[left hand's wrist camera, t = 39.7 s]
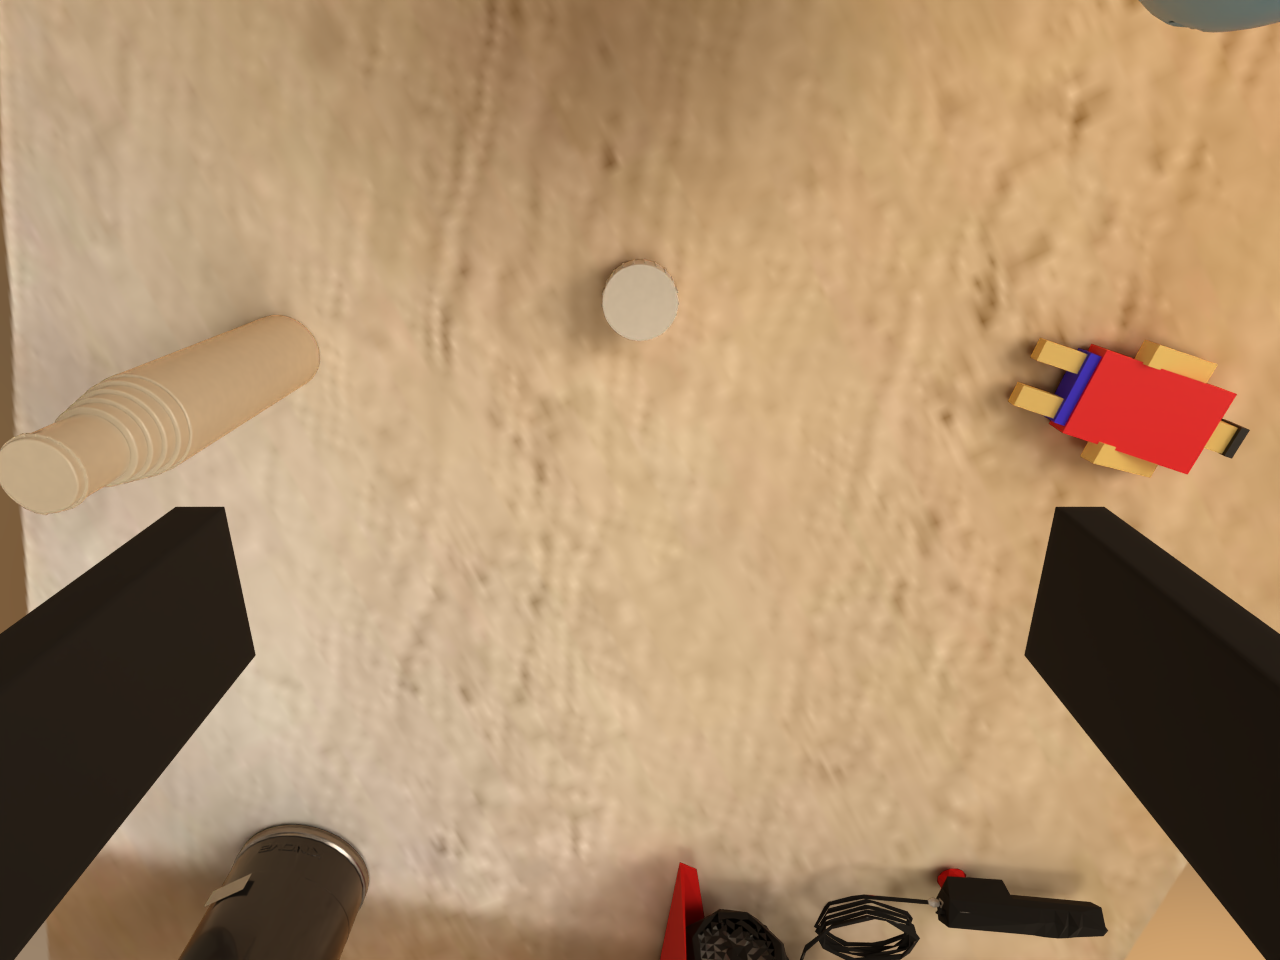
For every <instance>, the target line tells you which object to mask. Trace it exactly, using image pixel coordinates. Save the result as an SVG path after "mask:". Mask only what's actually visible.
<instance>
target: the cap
mask: <svg viewBox="0 0 1280 960" xmlns="http://www.w3.org/2000/svg"><path fill="white" fill-rule="evenodd" d="M677 293H678V290H677V287H675V285H674V280H673V277H671V276H670V275H669V273H668V272H667V271H666V268H663V267H661V266H660V265H658V264H657V263H656V262H652V261H649V260H646V259H644V260H642V259H640V260H634V259H633V260H632V261H629V262H626V263H624V262H623V263H622V265H621V266H619V267H618V268H617V269H614V270H613V273H612V274H611V276H610V277H609V279H608V278H607V281H606V286H605V289H604V290H603V293H602V295H603V300H602V307H603V312H604V315H605V318H606V320H607V322H608V323H609V325H610V326H611V328H612V329H613V330H614V331H615V332H616V333H618V334H619V335H621V336H623V337H624V338H627V339H630V340H634V341H646V340H651V339H654V338H656V337H658V336H660V335H661V334H663V333H664V332H665V331H666V330H667V329H668V328H669V327H670V326H671V324H672V323H673V321H674V319H675V317H676V315H677V310H678V305H679V301H678V295H677Z"/></svg>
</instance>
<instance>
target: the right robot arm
mask: <svg viewBox="0 0 1280 960" xmlns="http://www.w3.org/2000/svg"><path fill="white" fill-rule="evenodd" d="M368 886H369V876H368V871H367V868H366V865H365V863H364V861H363V860H362V858H361V856H360V855H359V854H358V853H357V851H356V850H355V849H354V848H353V847H352V846H350V845H349V844H348V843H347V842H345V841H344V840H343V839H341V838H339V837H338V836H336V835H334V834H332V833H330V832H327V831H325V830H322V829H319V828H315V827H310V826H304V825H281V826H276V827H272V828H269V829H266V830H263V831H261V832H259V833H258V834H256V835H254V836H253V837H252V838H250V839H249V840H248V841H247V842H246V844H245V845H244V846H243V848H242V849H241V851H240V853H239V855H238V856H237V858H236V860H235V862H234V864H233V868H232V869H231V871H230V873H229V875H228V876H227V878H226V880H225V881H224V883H223V885H222V886H221V888H219V889H217V890H214V891H213V892H212V894H211V896H210V897H209V899H208V901H207V902H206V904H205V906H207V905H209V904H211V905H210V906H209V908H208V910H207V912H206V913H205V915H204V917H203V918H202V920H201V922H200V923H199V925H198V927H197V929H196V930H195V932H194V934H193V935H192V937H191V939H190V941H189V942H188V944H187V946H186V947H185V949H184V951H183V953H182V954H181V956H180V958H179V959H178V960H339V959H340V957H341V954H342V952H343V949H344V946H345V944H346V942H347V939H348V937H349V934H350V931H351V929H352V926H353V923H354V921H355V918H356V915H357V913H358V911H359V909H360V908H361V906H362V904H363V901H364V898H365V896H366V893H367V890H368ZM205 906H204V907H205Z"/></svg>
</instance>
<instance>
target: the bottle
mask: <svg viewBox="0 0 1280 960" xmlns="http://www.w3.org/2000/svg"><path fill="white" fill-rule="evenodd" d="M319 359H320V356H319V349H318V346H317V343H316V341H315V339H314V337H313V336H312V334H311V333H310V332H309V330H308V329H307V328H306V327H305V326H303V325H302V324H301V323H299V322H298V321H296V320H294V319H292V318H289V317H286V316H281V315H270V316H265V317H263V318H260V319H258V320H255V321H253V322H250V323H247V324H245V325H242V326H240V327H237V328H235V329H232V330H230V331H227V332H224V333H222V334H219V335H217V336H214V337H212V338H209V339H206V340H204V341H201V342H199V343H196V344H194V345H191V346H189V347H186V348H183V349H181V350H178V351H176V352H173V353H171V354H168V355H165V356H163V357H160V358H158V359H155V360H153V361H150V362H147V363H145V364H142V365H140V366H137V367H135V368H132V369H130V370H127V371H124V372H122V373H119V374H117V375H114V376H112V377H109V378H107V379H105V380H103V381H101V382H100V383H99V384H97V385H95V386H93V387H92V388H90V389H89V390H88V391H87V392H86V393H85V394H84V395H83V396H81V397H80V398H79V399H78V400H77V401H76V402H75V403H74V404H72V405H71V406H70V407H69V408H68V409H67V410H66V411H65V412H63V413H62V414H61V415H60V416H59V417H58V418H57V419H56V421H55V423H53V424H51V425H49V426H46V427H44V428H42V429H39V430H37V431H35V432H32V433H26V434H24V433H23V434H21V435H19V436H16V437H13V438H12V439H10V440H9V441H7V442H6V443H5V444H4V445H3V447H2V448H1V450H0V485H1V486H2V488H3V489H4V491H5V492H6V493H7V495H8V496H9V497H10V498H11V499H13V500H14V501H15V502H16V503H18V504H19V505H21V506H22V507H23V508H25V509H28V510H30V511H33V512H34V513H38V514H43V515H47V514H48V513H57V512H61V511H65V510H69V509H73V508H75V507H76V506H78V505H79V504H81V503H82V502H83V501H84V499H85V498H86V497H88V496H89V495H91V494H93V493H95V492H96V491H98V490H100V489H101V488H103V487H112V486H117V485H120V484H123V483H129V482H132V481H135V480H141V479H144V478H148V477H153V476H156V475H159V474H161V473H163V472H165V471H168V470H171V469H173V468H175V467H176V466H178V465H180V464H181V463H183V462H184V461H186V460H187V459H189V458H190V457H192V456H194V455H195V454H197V453H198V452H200V451H201V450H203V449H205V448H206V447H208V446H209V445H211V444H212V443H214V442H216V441H217V440H219V439H220V438H222V437H223V436H225V435H226V434H228V433H230V432H231V431H233V430H234V429H236V428H237V427H239V426H241V425H242V424H244V423H245V422H247V421H248V420H250V419H252V418H253V417H255V416H256V415H258V414H259V413H261V412H262V411H264V410H266V409H267V408H269V407H270V406H272V405H273V404H275V403H277V402H278V401H280V400H281V399H283V398H284V397H286V396H288V395H289V394H291V393H292V392H294V391H295V390H297V389H299V388H300V387H302V386H303V385H305V384H306V383H308V382H309V381H310V380H311V379H312V378H313V377H314V375H315V374H316V372H317V369H318V366H319Z"/></svg>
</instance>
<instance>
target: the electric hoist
mask: <svg viewBox="0 0 1280 960" xmlns="http://www.w3.org/2000/svg"><path fill="white" fill-rule="evenodd" d="M937 882H938V884H939V885H940V887H941V890H940V892H939V894H938V896H937V898H936V899H935V898H930V899H929V900H920V899H908V898H897V897H885V896H874V895H857V896H850V897H846V898H842V899H838V900H834V901H831V902H828V903H827V904H826V905H825V906H824V908H823V910H822V912H821V914H820V916H819V918H818V920H817V922H816V924H815V926H814V927H815V928H817V929H816V930H815V932H816V933H817V934H818V936H817V937H815V938H814V939H813V940H812V941H810V942H809V943H808V944H806V945H805V948H804V950H803V953H802V956H801V958H800V960H803V959H804V956H805V953H806V951H807V950H808V949H810V948H811V947H812V946H813V945H814V944H815V943H816V942H818V941H819V942H820V944H821V946H822V948H823V949H825V950H827V951H829V952H831V953H833V954H835V955H837V956H839V957H841V958H843V959H845V960H900V959H902V958H903V957H905V956H906V955H908V954H909V953H910V952H911V951H912V949H913V948H914V946H915V945H916V943H917V942H918V940H919V939H920V938H919V936H918V935H917V934H916V931H915V927H914V925H913V924H912V923H911V922H912V919H913V918H912V917H911V915H910V914H909V913H908V911H905V910H901V909H898V908H895V907H892V906H889V905H886V904H883V903H880V902H876V901H872V900H868V899H873V900H884V901H896V902H907V903H919V904H929V905H930V906H932V907H937V911H936V914H938V920H939V921H941V922H942V923H943V924H945V925H946V926H947V927H949V928H960V929H971V930H982V931H993V932H1004V933H1015V934H1026V935H1035V936H1041V937H1049V938H1073V937H1093V936H1104V935H1105V934H1106V933H1107V931H1108V930H1107V928H1106V927H1105V923H1104V918H1103V913H1102V908H1101V907H1099V906H1097V905H1095V904H1093V903H1091V902H1084V901H1073V900H1062V899H1051V898H1040V897H1029V896H1018V895H1010V894H1009V892H1008V890H1007V888H1006V886H1005V885H1004V883H1003V881H1002V880H996V879H981V878H967V877H966V874H965V873H964V872H963V871H962V870H959V869H948V870H945V871H943V872H942V873H941V874H940V875H939V876H938V880H937ZM859 899H864V900H860V901H856V902H852V903H848V904H844V905H840V906H836V907H833V908H829V906H830V905H834V904H839V903H844V902H849V901H854V900H859ZM867 903H874V904H876V905H879V906H882V907H885V908H887V909H890V910H893V911H895V912H892V911H889V910H886V909H883V908H879V907H875V906H870V905H863V904H867ZM859 905H863V906H859ZM855 906H859V907H856V908H853V909H849V910H846V911H842V912H839V913H836V914H832V915H829V916H826V915H827V914H829V913H832V912H836V911H840V910H844V909H848V908H851V907H855ZM828 908H829V909H828ZM827 909H828V910H827ZM865 909H871V910H865ZM859 910H863V911H860V912H856V913H853V914H849V915H845V914H848V913H852V912H855V911H859ZM873 910H875V911H873ZM826 911H827V912H826ZM896 912H898V913H896ZM825 913H826V914H825ZM899 913H901V914H899ZM824 914H825V915H824ZM864 914H869V915H865V916H861V915H864ZM888 914H889V915H888ZM902 914H903V915H902ZM841 915H845V916H842V917H838V916H841ZM870 915H873V916H870ZM891 915H893V916H891ZM905 915H906V916H905ZM823 916H824V917H823ZM825 916H826V917H825ZM858 916H861V917H858ZM875 916H877V917H875ZM894 916H896V917H894ZM822 917H823V919H822ZM834 917H838V918H834ZM854 917H857V918H854ZM880 917H881V918H880ZM897 917H900V918H903V919H907V921H905V920H902V919H899V918H897ZM831 918H834V919H831ZM851 918H853V919H851ZM883 918H885V919H883ZM821 919H822V920H821ZM827 919H831V920H828V921H826V920H827ZM848 919H849V920H848ZM873 919H877V920H883V921H887V922H888V923H890V924H892V925H893V926H895V927H897V928H898V929H900V930H902V931H903V932H904V934H901V935H898V936H896V937H893V938H890V939H887V940H884V941H879V942H873V943H863V942H846V941H844V940H842V939H840V938H838V937H836V936H834V935H833V934H831V933H830V932H829V931H830V930H831V929H834V928H838V927H843V926H847V925H851V924H856V923H860V922H864V921H869V920H873ZM887 919H889V920H887ZM891 920H893V921H891ZM820 921H821V922H820ZM894 921H897V922H894ZM819 922H820V924H821V925H820V924H819ZM898 922H901V923H898ZM902 923H905V924H906V925H905V924H902ZM818 924H819V925H820V926H819V925H818ZM829 925H831V926H830V927H828V928H827V929H826V926H829ZM827 935H828V936H827ZM830 937H831V938H830ZM833 939H834V940H833ZM901 939H902V940H901ZM835 940H836V941H837V942H836V941H835ZM898 940H900V941H899V942H898V943H896V944H895V945H894V946H884V945H887V944H890V943H893V942H895V941H898ZM838 942H839V943H840V944H839V943H838ZM841 944H842V945H843V946H842V945H841ZM845 946H872V947H845ZM896 946H899V947H898V948H897V950H891V951H884V950H887V949H890V948H893V947H896ZM906 949H907V950H906ZM904 950H906V951H904ZM849 951H852V952H858V953H851V952H849ZM881 951H882V952H881ZM901 951H904V952H903V953H902V954H894V953H897V952H901ZM839 952H842V953H847V954H852V955H857V956H862V957H861V958H853V957H850V956H847V955H845V954H842V953H839ZM890 954H894V955H890ZM660 960H789V959H788V957H787V956H786V953H785V948H784V944H783V943H782V942H781V941H780V940H779V939H778V938H777V937H776V936H775V935H774V934H773V933H772V932H771V931H769V929H768V928H767V926H765V925H763V924H762V923H761V922H760V921H759V920H758V919H756V918H755V917H753V916H752V915H750V914H749V913H747V912H740V911H733V910H725V909H722V910H721V909H719V910H718V911H716V912H715V913H713V914H712V915H709V916H707V917H705V918H704V912H703V906H702V900H701V894H700V888H699V882H698V875H697V869H695V868H693V867H690V866H688V865H685V864H683V863H680V864H679V869H678V874H677V879H676V884H675V889H674V893H673V898H672V903H671V908H670V913H669V918H668V923H667V928H666V933H665V938H664V943H663V948H662V953H661V957H660Z"/></svg>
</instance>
